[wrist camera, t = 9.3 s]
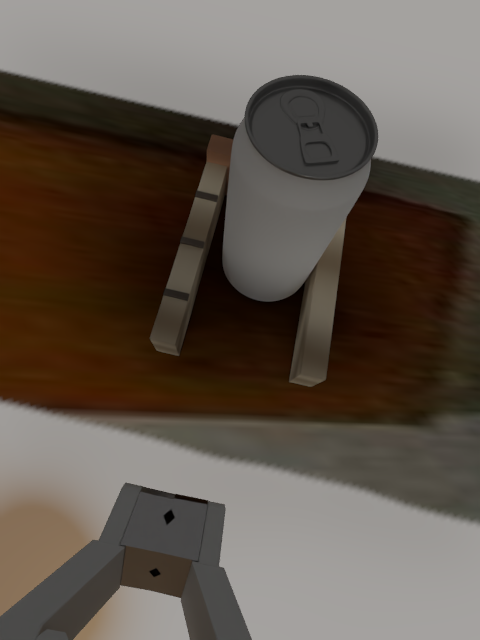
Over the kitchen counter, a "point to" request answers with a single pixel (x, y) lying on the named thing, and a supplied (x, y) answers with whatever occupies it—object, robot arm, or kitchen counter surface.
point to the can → (292, 181)
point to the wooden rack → (191, 263)
